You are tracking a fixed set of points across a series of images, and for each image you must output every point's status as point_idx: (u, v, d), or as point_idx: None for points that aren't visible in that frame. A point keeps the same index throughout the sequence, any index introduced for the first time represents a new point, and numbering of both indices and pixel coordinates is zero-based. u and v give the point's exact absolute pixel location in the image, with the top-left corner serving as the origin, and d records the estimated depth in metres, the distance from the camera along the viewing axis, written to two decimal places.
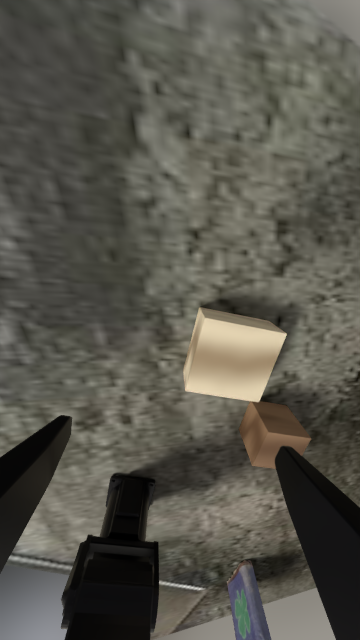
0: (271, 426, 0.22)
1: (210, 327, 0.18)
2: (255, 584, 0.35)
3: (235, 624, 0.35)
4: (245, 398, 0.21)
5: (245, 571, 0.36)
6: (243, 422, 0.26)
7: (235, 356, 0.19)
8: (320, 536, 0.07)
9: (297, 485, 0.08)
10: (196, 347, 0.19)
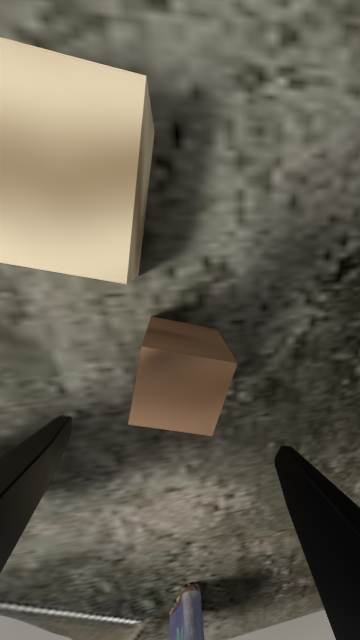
0: (158, 342, 0.11)
1: None
2: (199, 622, 0.24)
3: None
4: (94, 273, 0.10)
5: (188, 600, 0.25)
6: None
7: (37, 153, 0.08)
8: (320, 536, 0.07)
9: (297, 485, 0.08)
10: None
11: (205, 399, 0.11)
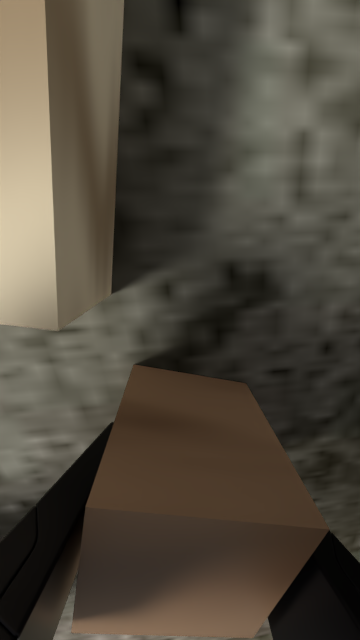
0: (137, 465, 0.05)
1: None
2: None
3: None
4: None
5: None
6: None
7: None
8: None
9: None
10: None
11: (245, 589, 0.05)
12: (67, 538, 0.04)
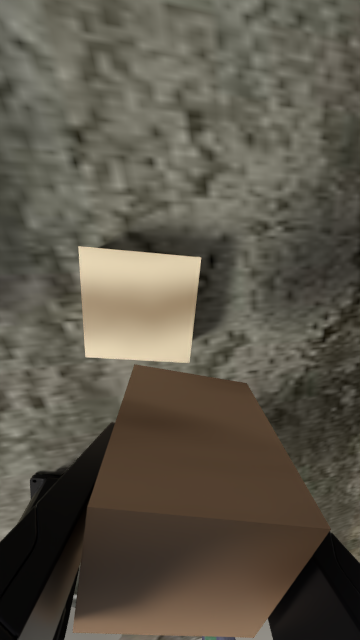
0: (138, 465, 0.05)
1: (90, 260, 0.13)
2: None
3: None
4: (169, 359, 0.16)
5: None
6: None
7: (138, 300, 0.14)
8: None
9: None
10: None
11: (247, 589, 0.05)
12: (67, 538, 0.04)
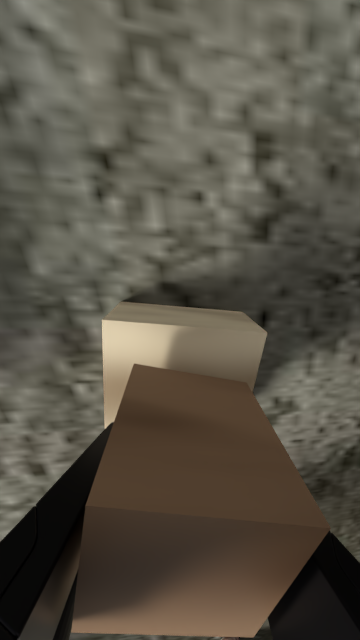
0: (137, 464, 0.05)
1: (118, 336, 0.10)
2: None
3: None
4: None
5: None
6: None
7: None
8: None
9: None
10: None
11: (246, 588, 0.05)
12: (67, 538, 0.04)
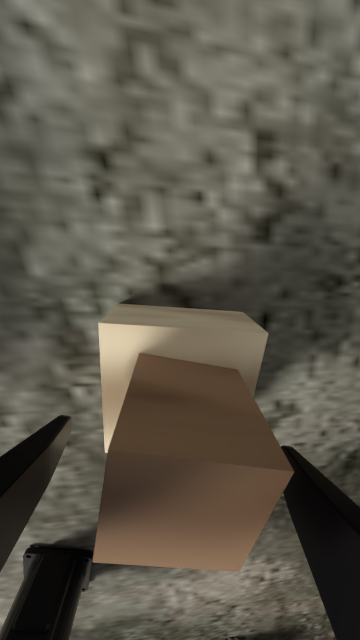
0: (145, 425, 0.06)
1: (115, 340, 0.09)
2: None
3: None
4: None
5: None
6: None
7: None
8: (320, 535, 0.07)
9: (298, 485, 0.08)
10: None
11: (231, 525, 0.06)
12: None
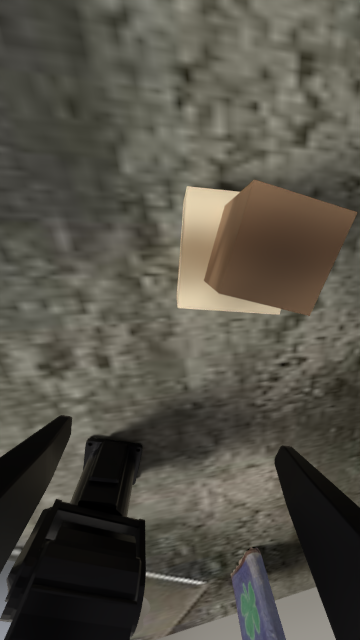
0: None
1: (197, 201, 0.13)
2: (265, 575, 0.29)
3: (241, 623, 0.29)
4: (260, 310, 0.16)
5: (253, 560, 0.31)
6: (211, 257, 0.14)
7: None
8: (320, 536, 0.07)
9: (297, 485, 0.08)
10: (183, 239, 0.14)
11: (312, 262, 0.10)
12: None
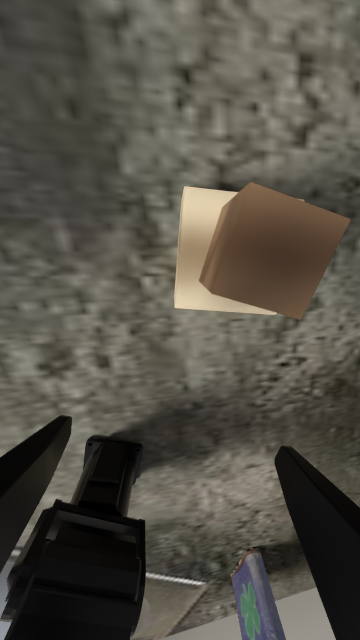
0: None
1: (194, 201, 0.13)
2: (265, 575, 0.29)
3: (241, 624, 0.29)
4: (257, 310, 0.16)
5: (253, 560, 0.31)
6: (207, 258, 0.14)
7: None
8: (320, 536, 0.07)
9: (297, 485, 0.08)
10: (180, 239, 0.14)
11: (305, 266, 0.10)
12: None
